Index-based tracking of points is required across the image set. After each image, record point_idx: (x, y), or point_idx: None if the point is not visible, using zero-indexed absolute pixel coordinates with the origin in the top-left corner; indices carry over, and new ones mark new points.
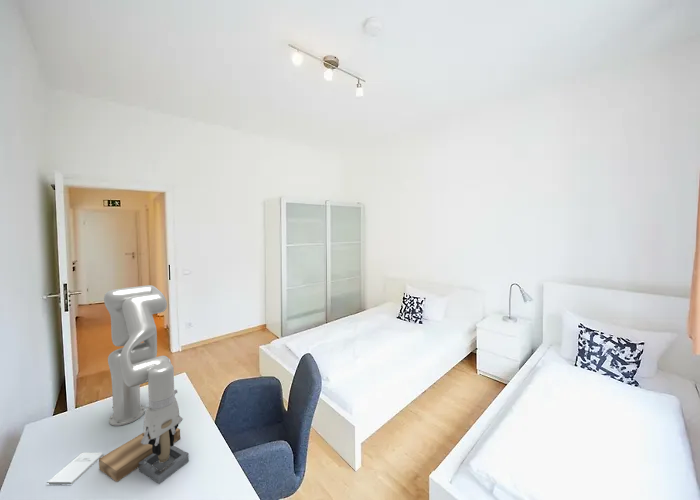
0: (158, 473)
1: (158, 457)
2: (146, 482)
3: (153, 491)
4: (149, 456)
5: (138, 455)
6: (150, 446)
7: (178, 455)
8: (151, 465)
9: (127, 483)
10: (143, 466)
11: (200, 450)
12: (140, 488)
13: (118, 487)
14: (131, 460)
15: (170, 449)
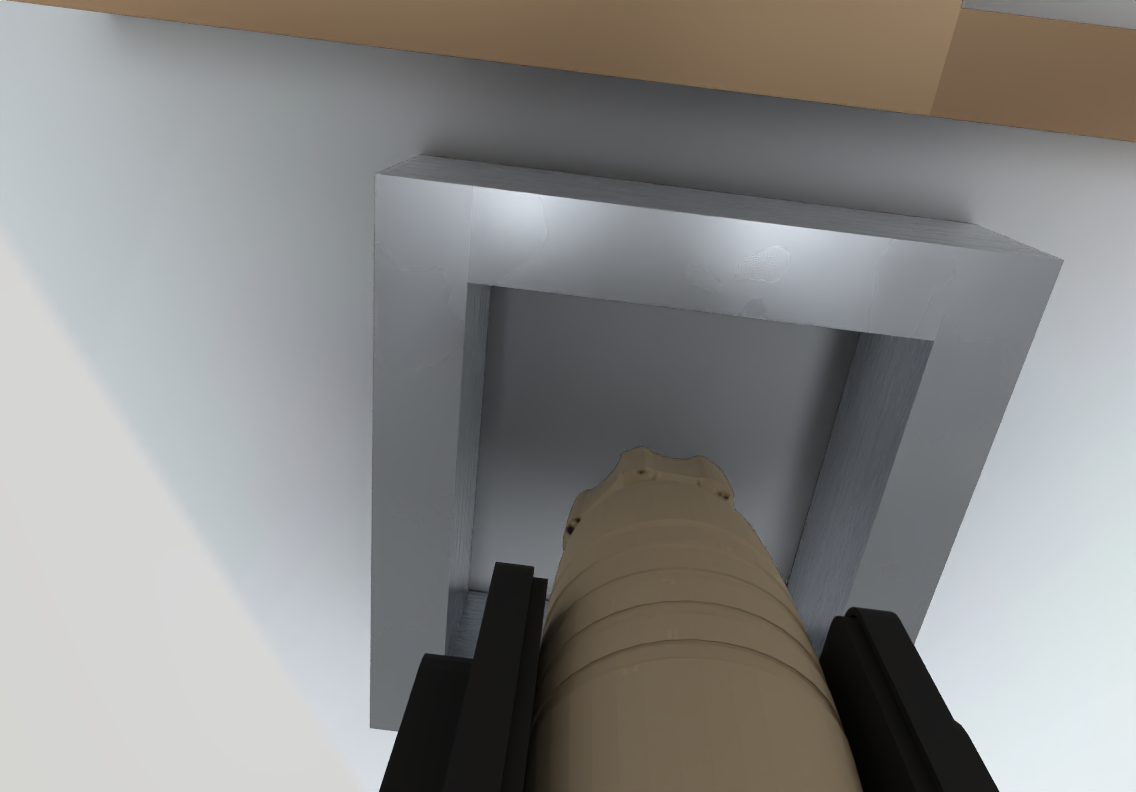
0: (392, 699)
1: (564, 551)
2: (347, 470)
3: (313, 649)
4: (590, 233)
5: (446, 20)
6: (800, 10)
7: (814, 624)
8: (446, 480)
9: (196, 226)
10: (373, 355)
11: (1039, 687)
12: (255, 481)
13: (84, 163)
14: (264, 17)
15: (889, 443)
